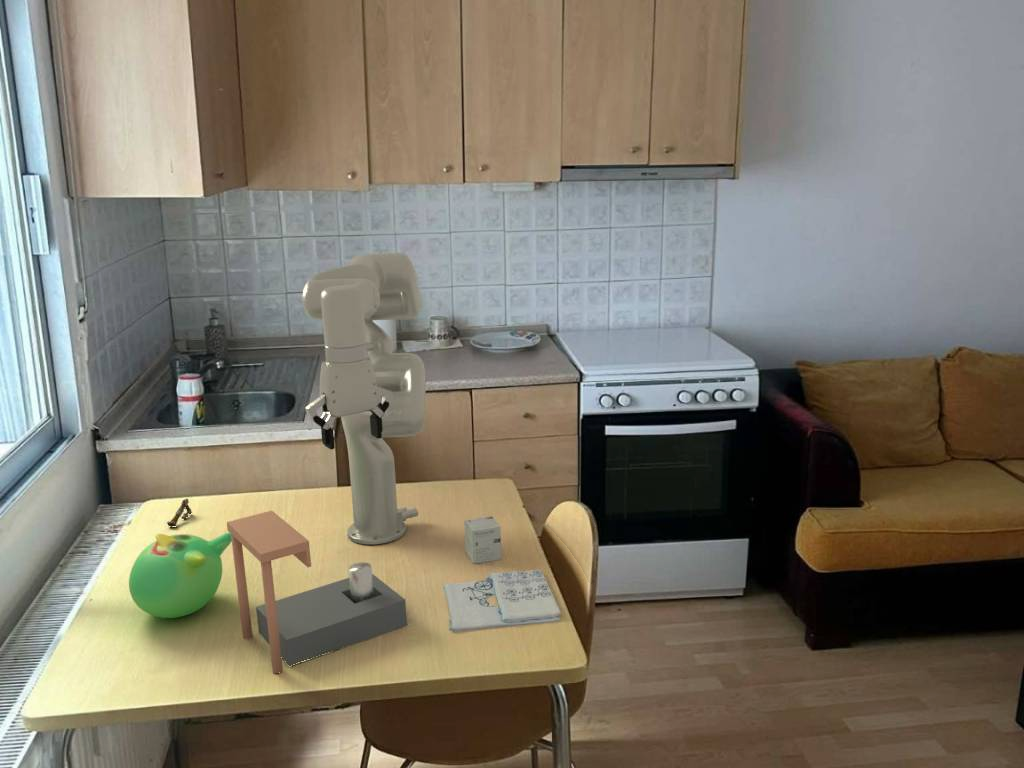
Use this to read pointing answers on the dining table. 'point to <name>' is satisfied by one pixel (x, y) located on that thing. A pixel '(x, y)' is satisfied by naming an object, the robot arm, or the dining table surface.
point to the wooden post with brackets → (180, 513)
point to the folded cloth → (501, 601)
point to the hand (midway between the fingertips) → (353, 442)
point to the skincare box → (482, 539)
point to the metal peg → (361, 582)
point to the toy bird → (177, 574)
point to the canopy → (265, 566)
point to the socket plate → (332, 619)
